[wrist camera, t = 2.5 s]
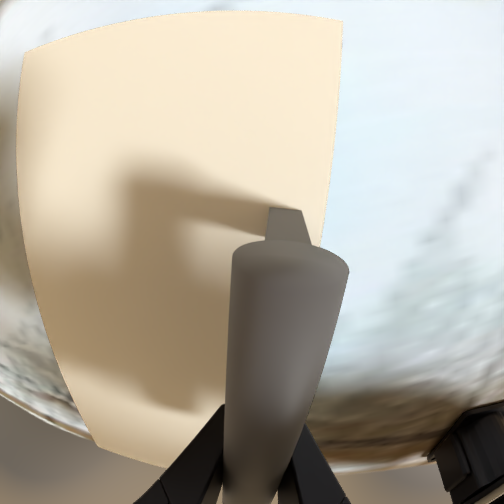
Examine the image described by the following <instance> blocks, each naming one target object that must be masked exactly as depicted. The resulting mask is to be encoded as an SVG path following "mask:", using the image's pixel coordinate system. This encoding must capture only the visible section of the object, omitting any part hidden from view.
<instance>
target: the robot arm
mask: <svg viewBox="0 0 504 504" xmlns="http://www.w3.org/2000/svg"><path fill="white" fill-rule="evenodd" d="M224 416H225V404H222V405H221V406H220V407H219V408H218V409H217V411H216V412H215V413H214V414H213V416H212V417H211V418H210V419H209V420H208V422H207V423H206V424H205V425H204V427H203V428H202V429H201V430H200V431H199V433H198V434H197V435H196V436H195V437H194V439H193V440H192V441H191V442H190V443H189V444H188V446H187V447H186V448H185V449H184V450H183V451H182V453H181V454H180V455H179V456H178V457H177V458H176V460H175V461H174V462H173V463H172V464H171V465H170V466H169V467H168V469H167V470H166V471H165V472H164V473H163V474H162V475H161V476H160V480H159V479H158V480H157V481H156V482H155V483H154V484H153V485H152V486H151V487H150V488H149V489H148V490H147V491H146V492H145V493H144V494H143V495H142V496H141V497H140V498H139V499H138V500H136V501H135V502H134V503H133V504H216V502H217V499H218V496H219V493H220V490H221V487H222V483H223V450H224ZM427 460H428V462H433V461H436V462H437V465H438V468H439V471H440V474H441V478H442V481H443V485H444V488H445V490H446V492H449V491H450V495H451V498H452V502H453V504H486V503H488V502H489V501H491V500H493V499H494V498H495V497H497V496H499V495H500V494H502V493H503V492H504V402H503V403H499V404H495V405H491V406H487V407H483V408H478V409H474V410H469V411H467V412H465V413H464V414H463V415H462V416H461V417H460V418H459V420H458V421H457V422H456V424H455V425H454V426H453V427H452V429H451V430H450V431H449V432H448V434H447V435H446V436H445V437H444V438H443V440H442V441H441V442H440V443H439V444H438V445H437V447H436V448H435V449H434V450H433V451H432V452H431V453H430V454H429V455H428V457H427ZM345 496H346V495H345V493H344V491H343V490H342V487H341V486H340V484H339V483H338V481H337V479H336V477H335V475H334V474H333V472H332V470H331V468H330V467H329V465H328V463H327V461H326V459H325V458H324V456H323V454H322V452H321V451H320V449H319V447H318V445H317V443H316V442H315V440H314V438H313V436H312V434H311V432H310V431H309V429H308V427H307V425H306V423H305V424H304V426H303V429H302V432H301V434H300V437H299V439H298V442H297V444H296V447H295V449H294V452H293V454H292V457H291V459H290V462H289V464H288V467H287V469H286V471H285V474H284V476H283V478H282V480H281V483H280V485H279V487H278V504H351V503H350V501H349V499H348V498H347V497H345ZM489 504H504V494H503V495H502V496H500V497H499V498H497V499H496V500H494V501H493V502H491V503H489Z"/></svg>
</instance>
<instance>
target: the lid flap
mask: <svg viewBox="0 0 504 504" xmlns="http://www.w3.org/2000/svg"><path fill="white" fill-rule="evenodd" d="M342 31H343V21H340V20H334V19H329V18H323V17H316V16H309V15H301V14H292V13H281V12H266V11H203V12H189V13H178V14H169V15H161V16H154V17H147V18H141V19H135V20H130V21H125V22H120V23H116V24H111V25H107V26H103V27H99V28H95V29H91V30H88V31H84V32H81V33H77V34H74V35H71V36H68V37H65V38H62V39H59V40H56V41H53V42H50V43H47V44H45V45H42V46H40V47H37V48H35V49H32V50H30V51H27V52H25V54H24V59H23V65H22V72H21V79H20V88H19V97H18V109H17V128H16V167H17V186H18V199H19V209H20V217H21V225H22V232H23V239H24V245H25V250H26V256H27V261H28V266H29V270H30V275H31V279H32V284H33V288H34V292H35V296H36V299H37V303H38V307H39V310H40V314H41V317H42V320H43V324H44V327H45V330H46V333H47V336H48V339H49V342H50V345H51V347H52V350H53V353H54V356H55V358H56V361H57V363H58V366H59V368H60V371H61V373H62V376H63V378H64V380H65V383H66V385H67V387H68V390H69V392H70V394H71V396H72V398H73V400H74V403H75V405H76V407H77V409H78V411H79V413H80V415H81V417H82V419H83V421H84V423H85V424H86V426H87V428H88V430H89V432H90V434H91V436H92V437H93V439H94V441H95V443H96V444H97V446H98V447H100V448H103V449H106V450H108V451H111V452H114V453H117V454H120V455H123V456H126V457H129V458H132V459H135V460H138V461H142V462H145V463H149V464H152V465H156V466H160V467H163V468H167V469H168V467H169V466H170V465H171V464H172V463H173V462H174V461H175V460H176V458H177V457H178V456H179V455H180V454H181V453H182V451H183V450H184V449H185V448H186V447H187V446H188V444H189V443H190V442H191V441H192V440H193V439H194V437H195V436H196V435H197V434H198V433H199V431H200V430H201V429H202V428H203V427H204V425H205V424H206V423H207V422H208V420H209V419H210V418H211V417H212V416H213V414H214V413H215V412H216V411H217V409H218V408H219V407H220V406H221V405H222V404H225V416H224V450H223V498H222V502H223V504H271V502H272V500H273V498H274V496H275V494H276V492H277V489H278V487H279V485H280V483H281V480H282V478H283V476H284V474H285V471H286V469H287V467H288V464H289V462H290V459H291V457H292V454H293V452H294V449H295V447H296V444H297V442H298V439H299V437H300V434H301V432H302V429H303V426H304V424H305V421H306V418H307V415H308V413H309V410H310V407H311V404H312V401H313V398H314V395H315V392H316V389H317V386H318V383H319V380H320V377H321V374H322V371H323V368H324V364H325V361H326V358H327V355H328V351H329V348H330V344H331V341H332V337H333V334H334V330H335V327H336V323H337V319H338V316H339V312H340V308H341V304H342V300H343V296H344V292H345V288H346V283H347V279H348V275H349V268H348V266H347V264H346V263H345V262H344V260H342V259H341V258H340V257H339V256H337V255H335V254H334V253H332V252H330V251H328V250H325V249H323V248H320V244H321V238H322V231H323V225H324V219H325V212H326V205H327V198H328V191H329V184H330V176H331V168H332V160H333V151H334V142H335V133H336V122H337V112H338V100H339V87H340V72H341V55H342Z"/></svg>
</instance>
